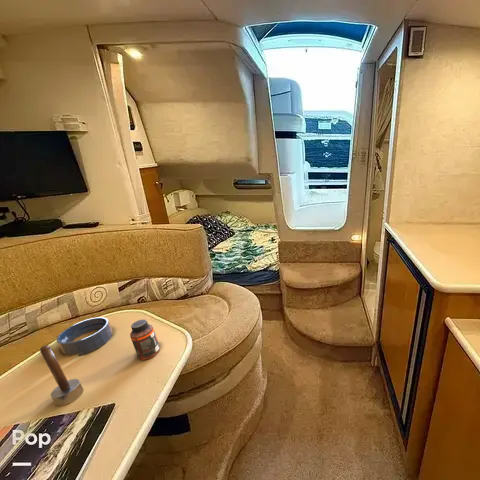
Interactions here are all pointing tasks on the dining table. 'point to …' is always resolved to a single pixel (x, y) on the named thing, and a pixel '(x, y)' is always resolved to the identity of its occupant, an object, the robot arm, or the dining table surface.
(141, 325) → the supplement bottle
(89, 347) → the ring
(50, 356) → the peg on round base
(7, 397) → the dining table surface
